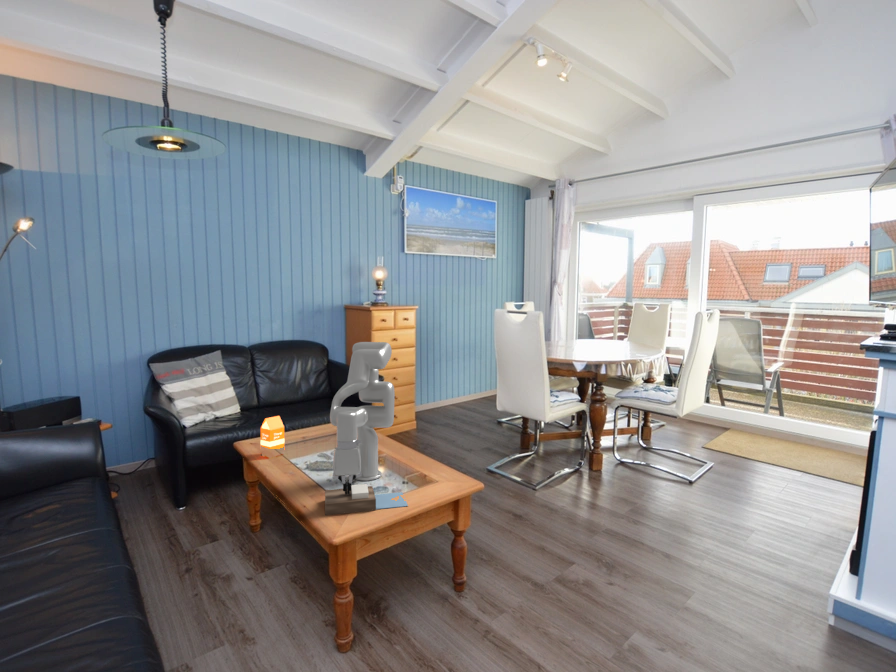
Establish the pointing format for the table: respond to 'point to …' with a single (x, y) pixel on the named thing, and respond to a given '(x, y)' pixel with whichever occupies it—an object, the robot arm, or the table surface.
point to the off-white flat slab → (359, 491)
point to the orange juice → (272, 433)
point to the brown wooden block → (348, 502)
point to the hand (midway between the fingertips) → (347, 492)
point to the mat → (389, 501)
